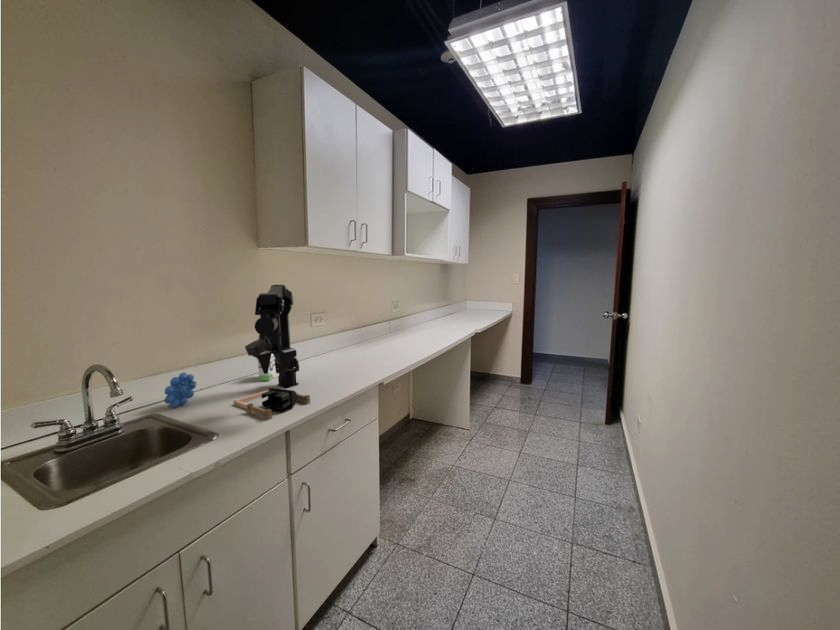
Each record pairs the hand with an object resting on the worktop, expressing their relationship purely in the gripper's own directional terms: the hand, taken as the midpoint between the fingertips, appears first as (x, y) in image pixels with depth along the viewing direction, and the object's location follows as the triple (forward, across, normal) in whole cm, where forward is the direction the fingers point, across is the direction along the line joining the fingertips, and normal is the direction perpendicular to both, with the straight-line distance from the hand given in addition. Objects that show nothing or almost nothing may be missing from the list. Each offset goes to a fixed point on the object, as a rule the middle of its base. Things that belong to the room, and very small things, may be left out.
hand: (273, 375), depth 118 cm
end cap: (+13, -2, +3) cm, 14 cm away
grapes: (+13, -36, -15) cm, 41 cm away
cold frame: (+13, -2, +3) cm, 14 cm away
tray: (+13, -13, +3) cm, 19 cm away
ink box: (+13, -38, +22) cm, 46 cm away
